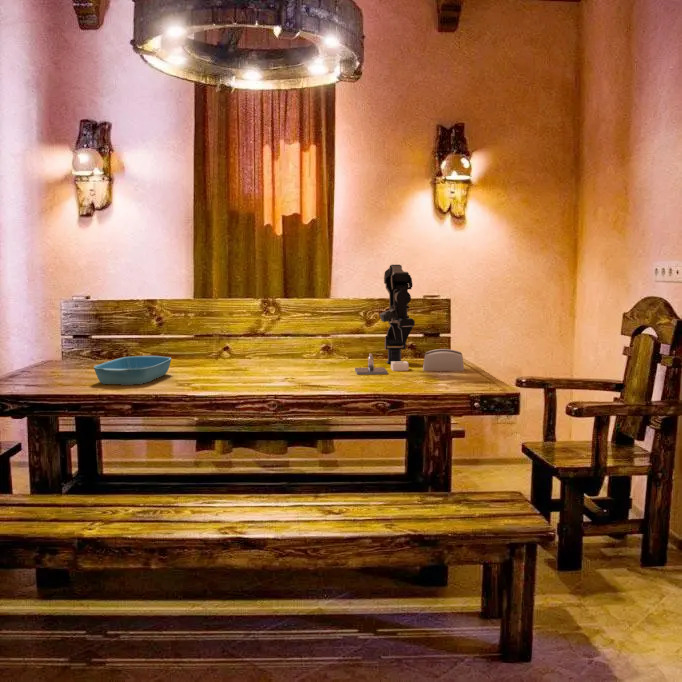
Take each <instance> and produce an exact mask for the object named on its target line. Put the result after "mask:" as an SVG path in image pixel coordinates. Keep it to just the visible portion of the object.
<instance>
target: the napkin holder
mask: <svg viewBox="0 0 682 682" xmlns="http://www.w3.org/2000/svg"><path fill="white" fill-rule="evenodd" d="M423 358H424V359H423V362H422V363H423V365H422V371H425V372H426V371H427V372H436V371H437V372H464V371H465V367H464V365H465V364H464V356H463V353H462V352H461V351H458V350H454V349H452V348H451V349H449V348H448V349H447V348H439V349H433V350H428V351H426V352H425V353H424V357H423Z"/></svg>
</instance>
